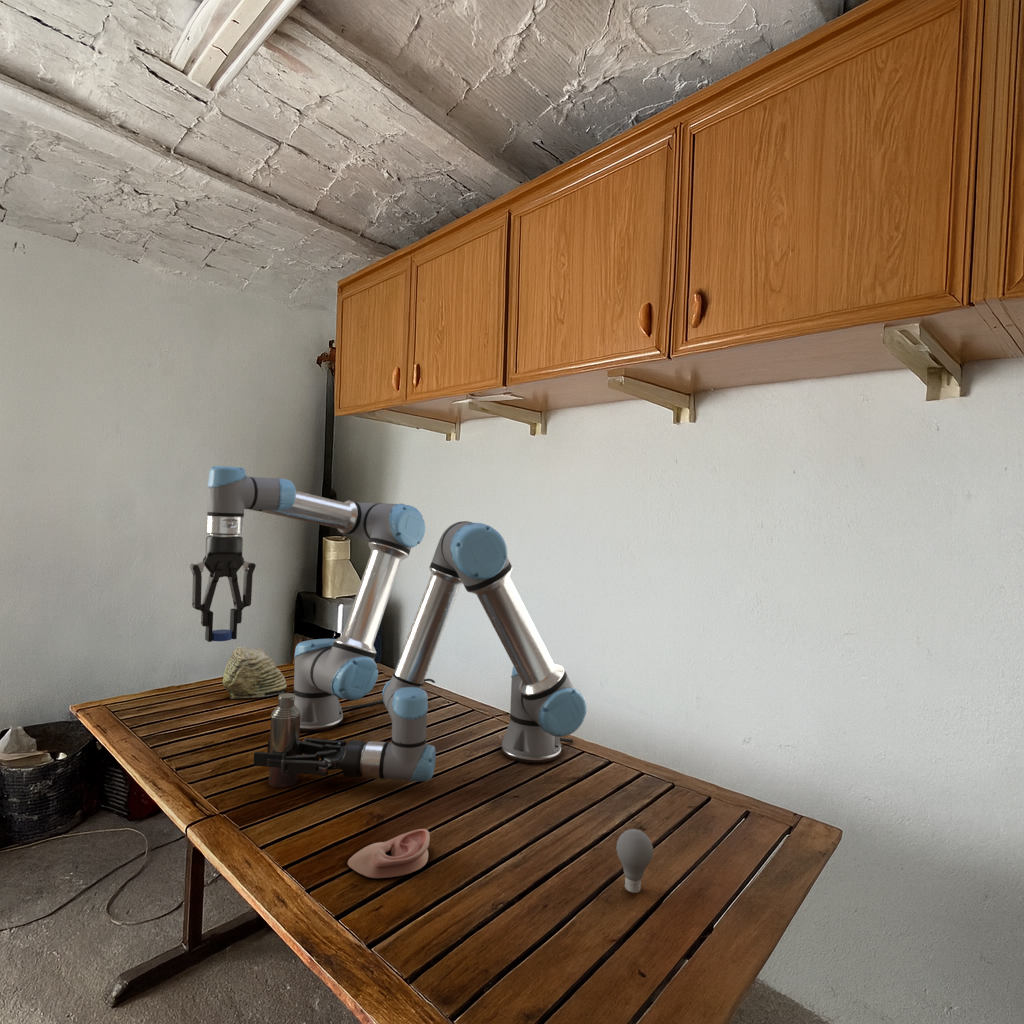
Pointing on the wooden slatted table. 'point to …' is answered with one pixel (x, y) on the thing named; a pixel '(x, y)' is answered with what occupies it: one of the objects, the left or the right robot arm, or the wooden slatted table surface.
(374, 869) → the anatomical model
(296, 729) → the bottle
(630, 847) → the light bulb
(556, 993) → the wooden slatted table surface
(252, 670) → the fossil
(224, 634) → the cap
